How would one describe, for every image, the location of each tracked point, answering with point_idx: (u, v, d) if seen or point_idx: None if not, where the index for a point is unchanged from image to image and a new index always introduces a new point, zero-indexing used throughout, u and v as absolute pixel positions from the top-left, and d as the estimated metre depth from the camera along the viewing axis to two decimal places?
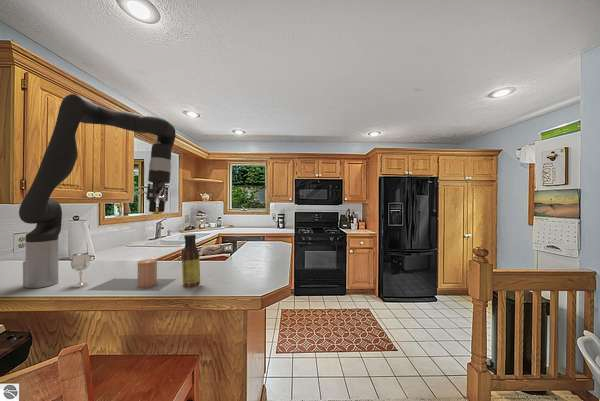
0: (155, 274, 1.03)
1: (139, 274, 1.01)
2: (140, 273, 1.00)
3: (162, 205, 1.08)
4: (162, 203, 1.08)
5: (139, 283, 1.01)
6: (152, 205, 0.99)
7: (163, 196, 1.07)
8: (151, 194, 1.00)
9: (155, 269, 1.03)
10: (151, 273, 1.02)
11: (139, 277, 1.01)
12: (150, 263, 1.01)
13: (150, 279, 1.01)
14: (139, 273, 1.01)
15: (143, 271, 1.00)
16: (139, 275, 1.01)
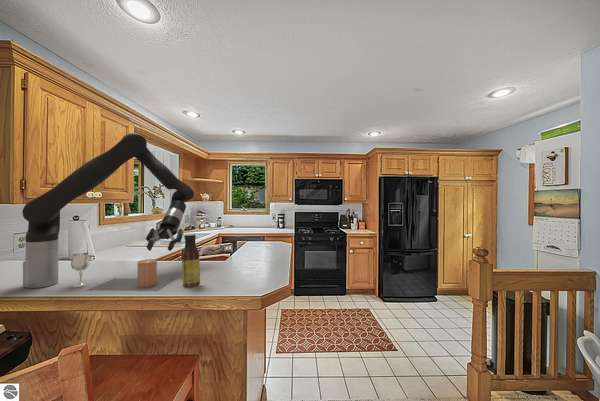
0: (155, 274, 1.03)
1: (139, 274, 1.01)
2: (140, 273, 1.00)
3: (152, 245, 1.14)
4: (153, 243, 1.15)
5: (139, 283, 1.01)
6: (173, 245, 1.14)
7: (158, 238, 1.17)
8: (172, 235, 1.16)
9: (155, 269, 1.03)
10: (151, 273, 1.02)
11: (139, 277, 1.01)
12: (150, 263, 1.01)
13: (150, 279, 1.01)
14: (139, 273, 1.01)
15: (143, 271, 1.00)
16: (139, 275, 1.01)
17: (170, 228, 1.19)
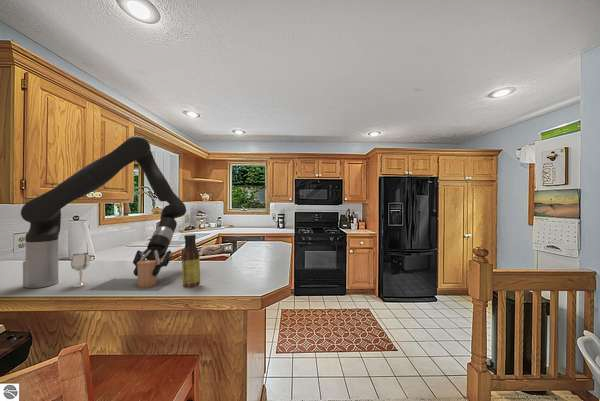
0: None
1: (139, 274, 1.01)
2: (140, 273, 1.00)
3: None
4: None
5: (139, 283, 1.01)
6: (159, 269, 1.04)
7: None
8: (159, 258, 1.06)
9: None
10: (151, 273, 1.02)
11: (139, 277, 1.01)
12: (150, 263, 1.01)
13: (150, 279, 1.01)
14: (139, 273, 1.01)
15: (143, 271, 1.00)
16: (139, 275, 1.01)
17: (158, 249, 1.09)
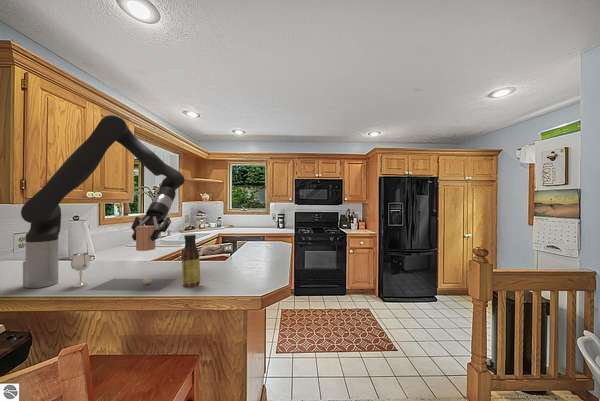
0: None
1: (137, 238, 1.00)
2: (138, 237, 1.00)
3: None
4: None
5: (137, 247, 1.01)
6: (157, 235, 1.04)
7: None
8: (158, 224, 1.06)
9: None
10: (149, 237, 1.02)
11: (137, 241, 1.01)
12: (148, 227, 1.01)
13: (148, 243, 1.01)
14: (137, 237, 1.00)
15: (141, 235, 1.00)
16: (137, 239, 1.00)
17: (157, 216, 1.09)
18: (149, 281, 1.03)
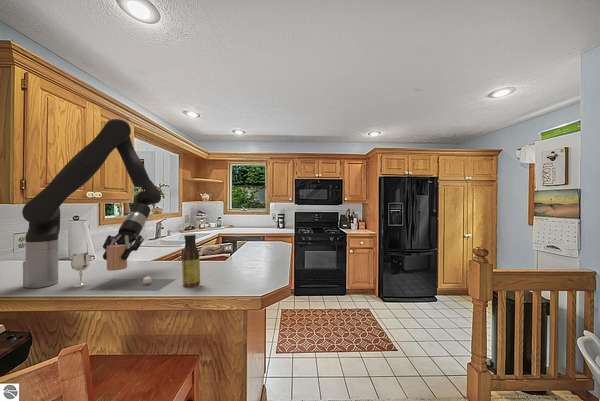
0: None
1: (108, 258, 1.01)
2: (109, 257, 1.01)
3: None
4: None
5: (108, 267, 1.01)
6: (128, 254, 1.04)
7: None
8: (129, 243, 1.06)
9: None
10: (120, 257, 1.02)
11: (108, 261, 1.01)
12: (119, 247, 1.02)
13: (119, 263, 1.02)
14: (108, 257, 1.01)
15: (112, 255, 1.01)
16: (108, 259, 1.01)
17: (129, 234, 1.09)
18: (149, 281, 1.03)
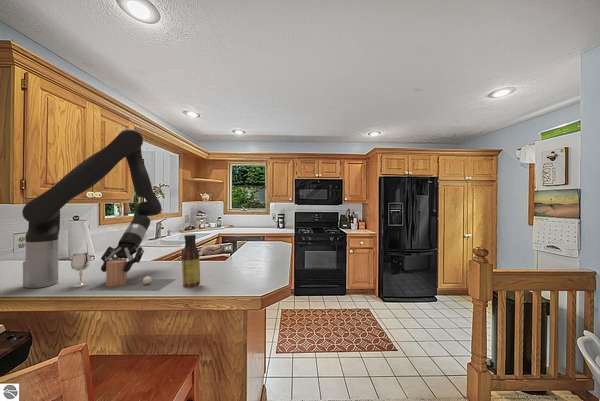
0: (124, 274, 1.04)
1: (108, 274, 1.01)
2: (109, 273, 1.01)
3: None
4: None
5: (108, 283, 1.01)
6: (131, 266, 1.04)
7: (116, 258, 1.07)
8: (130, 255, 1.06)
9: None
10: (120, 273, 1.02)
11: (108, 277, 1.01)
12: (119, 263, 1.02)
13: (119, 279, 1.02)
14: (108, 273, 1.01)
15: (111, 271, 1.01)
16: (108, 275, 1.01)
17: (129, 246, 1.09)
18: (149, 281, 1.03)
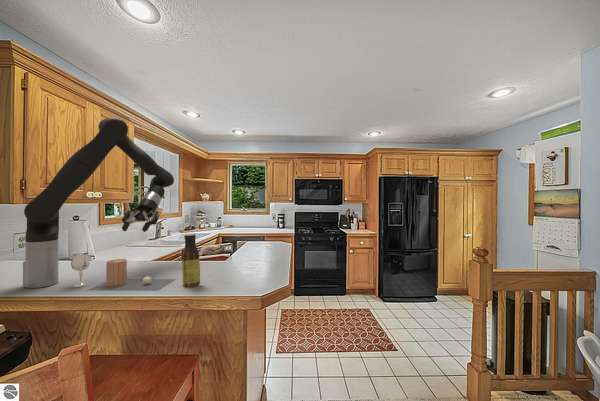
0: (124, 274, 1.04)
1: (108, 274, 1.01)
2: (109, 273, 1.01)
3: (128, 226, 1.17)
4: (128, 224, 1.17)
5: (108, 283, 1.01)
6: (148, 226, 1.16)
7: (134, 220, 1.20)
8: (148, 217, 1.18)
9: (124, 269, 1.04)
10: (120, 273, 1.02)
11: (108, 277, 1.01)
12: (119, 263, 1.02)
13: (119, 279, 1.02)
14: (108, 273, 1.01)
15: (111, 271, 1.01)
16: (108, 275, 1.01)
17: (146, 211, 1.21)
18: (149, 281, 1.03)
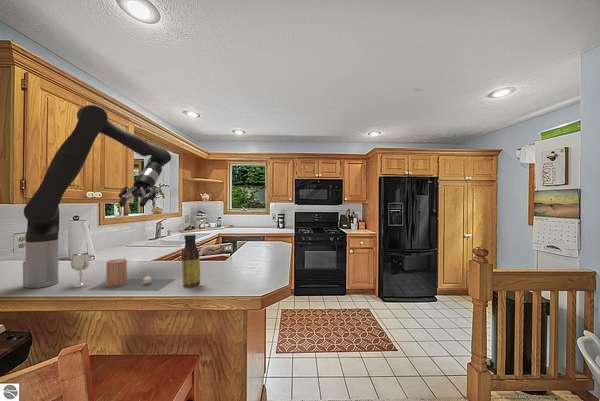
0: (124, 274, 1.04)
1: (108, 274, 1.01)
2: (109, 273, 1.01)
3: (125, 201, 1.14)
4: (125, 200, 1.15)
5: (108, 283, 1.01)
6: (146, 202, 1.14)
7: (132, 196, 1.17)
8: (145, 193, 1.16)
9: (124, 269, 1.04)
10: (120, 273, 1.02)
11: (108, 277, 1.01)
12: (119, 263, 1.02)
13: (119, 279, 1.02)
14: (108, 273, 1.01)
15: (111, 271, 1.01)
16: (108, 275, 1.01)
17: (144, 186, 1.19)
18: (149, 281, 1.03)
